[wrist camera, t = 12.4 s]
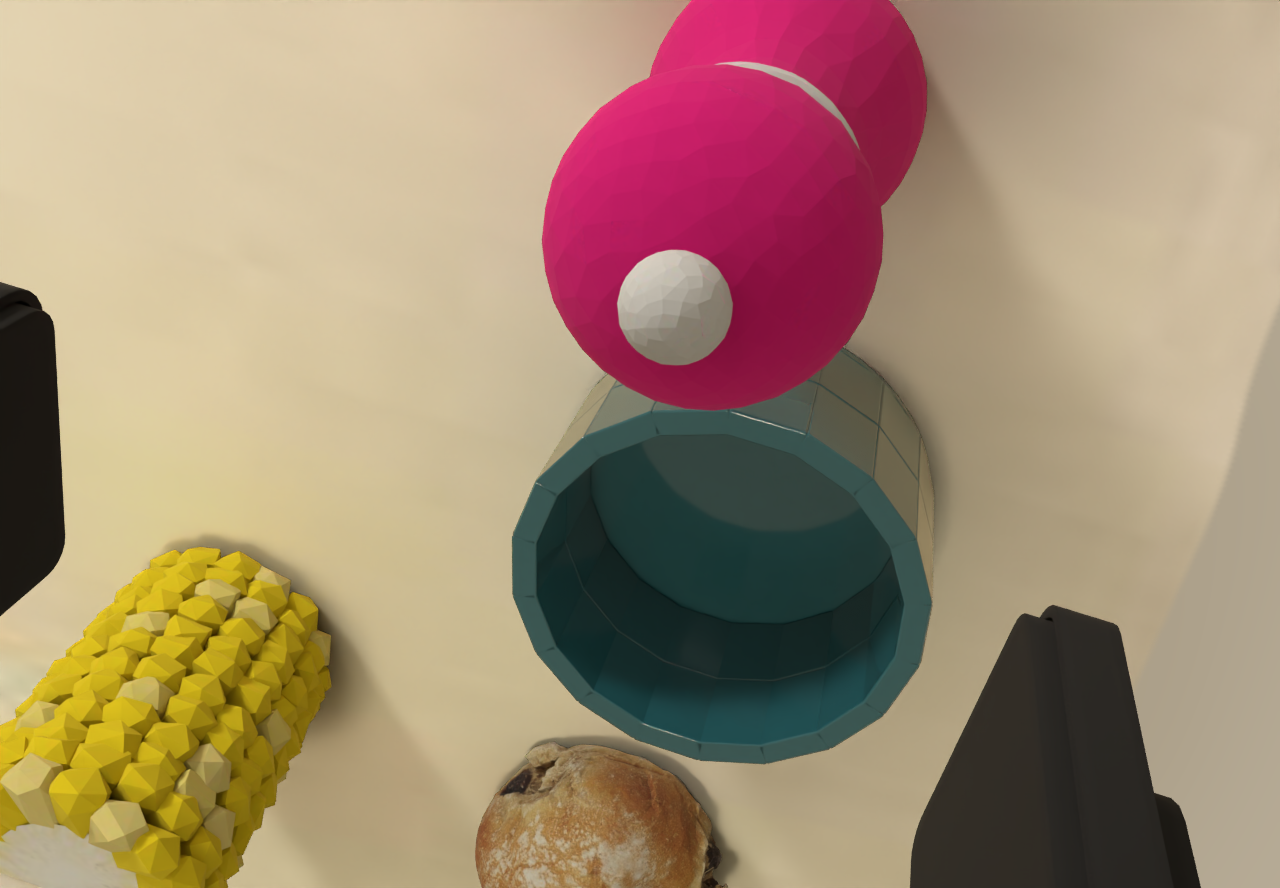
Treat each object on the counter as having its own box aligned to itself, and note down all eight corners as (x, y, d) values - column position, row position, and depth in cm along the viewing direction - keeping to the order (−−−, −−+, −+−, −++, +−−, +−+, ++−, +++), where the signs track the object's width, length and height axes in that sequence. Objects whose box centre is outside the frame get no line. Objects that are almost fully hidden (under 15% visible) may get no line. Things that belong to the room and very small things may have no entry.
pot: (608, 271, 39) (547, 354, 33) (988, 383, 38) (998, 490, 32) (543, 573, 45) (481, 689, 39) (867, 677, 44) (855, 813, 38)
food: (164, 494, 50) (390, 575, 50) (111, 727, 53) (322, 803, 53) (-88, 657, 35) (231, 772, 35) (-138, 962, 38) (152, 1068, 38)
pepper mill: (632, 62, 36) (340, 290, 18) (820, -117, 32) (681, -45, 15) (785, 243, 37) (649, 611, 20) (980, 90, 34) (1022, 372, 16)
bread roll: (645, 666, 51) (531, 731, 44) (796, 870, 48) (700, 971, 41) (517, 781, 55) (398, 854, 49) (649, 971, 53) (542, 1076, 46)
